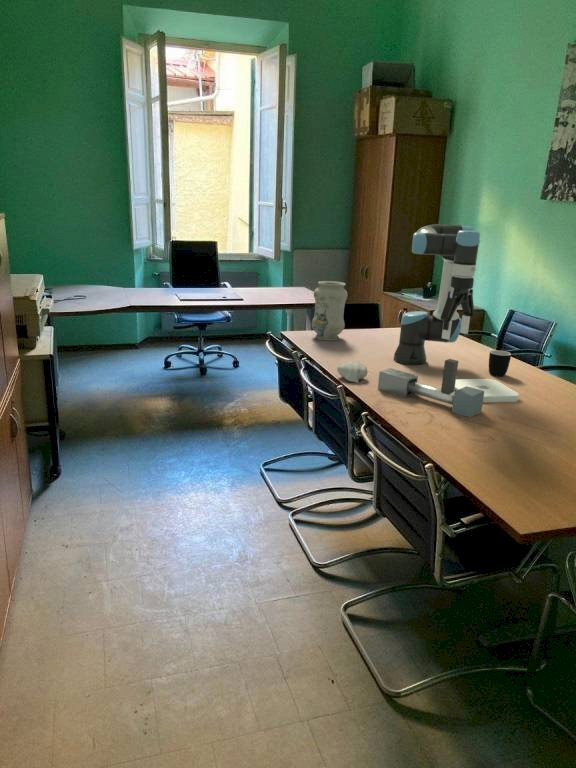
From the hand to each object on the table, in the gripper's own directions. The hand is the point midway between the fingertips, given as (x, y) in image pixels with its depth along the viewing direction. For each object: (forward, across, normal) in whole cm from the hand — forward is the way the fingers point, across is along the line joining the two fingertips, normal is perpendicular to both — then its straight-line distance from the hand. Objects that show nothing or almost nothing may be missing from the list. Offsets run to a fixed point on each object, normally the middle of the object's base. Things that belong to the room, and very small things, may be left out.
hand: (454, 336), depth 206 cm
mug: (+27, +57, +6) cm, 63 cm away
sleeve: (+27, 0, +21) cm, 34 cm away
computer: (+27, +26, -2) cm, 37 cm away
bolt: (+25, 0, +5) cm, 26 cm away
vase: (+27, +48, +97) cm, 111 cm away
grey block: (+27, 0, -9) cm, 28 cm away
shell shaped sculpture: (+27, 0, +44) cm, 51 cm away
